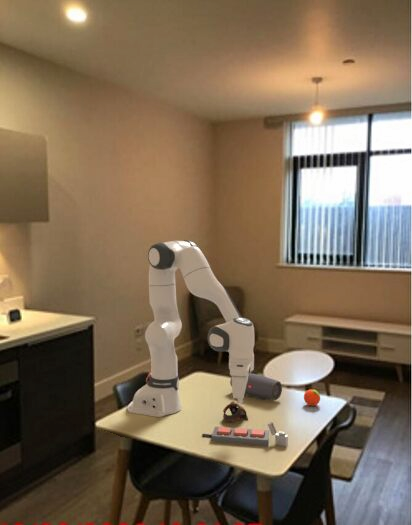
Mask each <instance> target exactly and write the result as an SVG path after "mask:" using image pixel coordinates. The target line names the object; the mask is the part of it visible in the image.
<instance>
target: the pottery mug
mask: <svg viewBox="0 0 412 525" xmlns="http://www.w3.org/2000/svg"><path fill="white" fill-rule="evenodd" d="M228 410H229V411H230V413H231V414H230V415H229V414H226V412H227V411H228ZM222 412H223V414H222V415H223V417H222V419H223V422H228V423H233V422H235V421H241V419H240V418H241V417H242V418H243V417H244V418H245V419H246V420H249V416H248V413H247V411H246V409H245V408H244V406H242V405H240V403H238V402H234V401H230V402H229V404H227V405H226V406H225V407H224V408H223V411H222Z"/></svg>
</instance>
